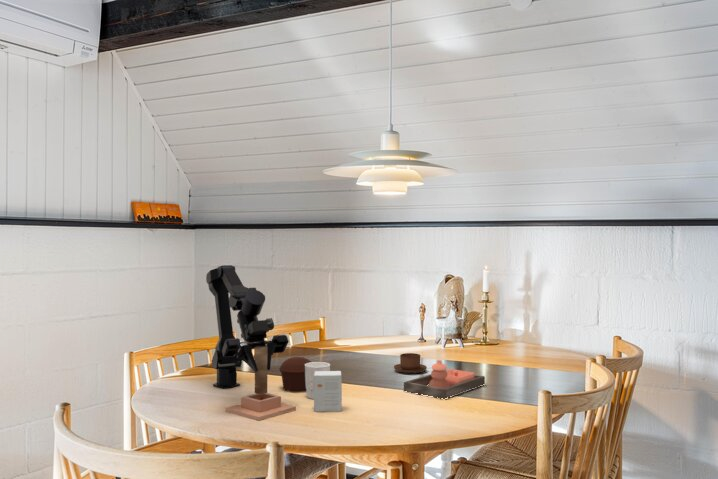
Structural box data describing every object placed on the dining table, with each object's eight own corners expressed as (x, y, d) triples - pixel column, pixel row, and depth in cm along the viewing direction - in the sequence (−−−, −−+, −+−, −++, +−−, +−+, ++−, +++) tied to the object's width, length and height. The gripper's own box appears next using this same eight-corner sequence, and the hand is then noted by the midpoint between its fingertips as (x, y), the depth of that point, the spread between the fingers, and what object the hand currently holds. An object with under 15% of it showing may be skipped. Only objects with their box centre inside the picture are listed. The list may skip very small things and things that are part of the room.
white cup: (316, 392, 211) (316, 360, 211) (335, 396, 206) (335, 364, 206) (299, 396, 205) (299, 364, 205) (318, 401, 200) (318, 368, 200)
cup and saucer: (388, 370, 245) (388, 353, 245) (416, 367, 250) (416, 351, 250) (403, 376, 234) (403, 359, 234) (432, 373, 239) (433, 356, 239)
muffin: (281, 393, 209) (281, 362, 209) (276, 385, 220) (276, 355, 219) (318, 391, 212) (318, 360, 212) (311, 383, 223) (311, 353, 223)
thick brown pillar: (252, 393, 188) (252, 347, 188) (257, 390, 192) (257, 345, 192) (264, 394, 187) (264, 348, 187) (269, 391, 191) (269, 346, 191)
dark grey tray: (403, 391, 212) (403, 382, 212) (445, 378, 231) (445, 369, 231) (444, 399, 202) (444, 390, 202) (484, 385, 221) (484, 376, 221)
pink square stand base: (226, 411, 189) (226, 397, 189) (263, 401, 200) (263, 388, 199) (258, 420, 180) (258, 406, 180) (295, 410, 190) (295, 396, 190)
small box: (341, 406, 195) (341, 370, 195) (341, 411, 189) (341, 374, 189) (314, 406, 195) (314, 370, 194) (313, 411, 189) (313, 374, 189)
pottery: (451, 381, 228) (451, 352, 228) (475, 385, 222) (475, 356, 222) (420, 390, 214) (421, 360, 214) (445, 395, 208) (445, 364, 208)
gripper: (225, 311, 188) (237, 356, 179) (286, 307, 197) (301, 350, 188) (217, 334, 195) (228, 379, 186) (276, 330, 204) (290, 373, 195)
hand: (262, 370), depth 188 cm, fingers closed on thick brown pillar, 4 cm apart
